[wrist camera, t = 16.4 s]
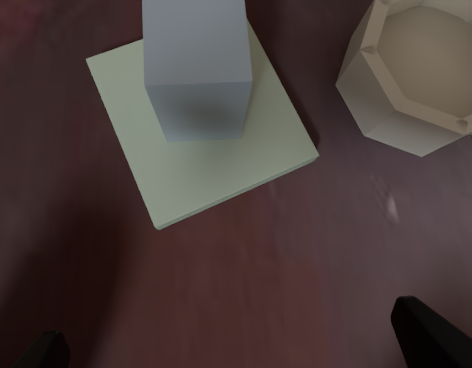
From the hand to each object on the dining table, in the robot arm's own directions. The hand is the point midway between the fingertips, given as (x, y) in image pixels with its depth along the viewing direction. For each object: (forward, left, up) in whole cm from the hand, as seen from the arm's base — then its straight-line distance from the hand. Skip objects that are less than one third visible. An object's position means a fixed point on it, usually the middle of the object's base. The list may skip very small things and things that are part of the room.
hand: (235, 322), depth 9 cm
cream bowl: (+8, -20, -14) cm, 25 cm away
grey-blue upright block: (+12, -4, -12) cm, 17 cm away
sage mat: (+12, -4, -14) cm, 18 cm away
